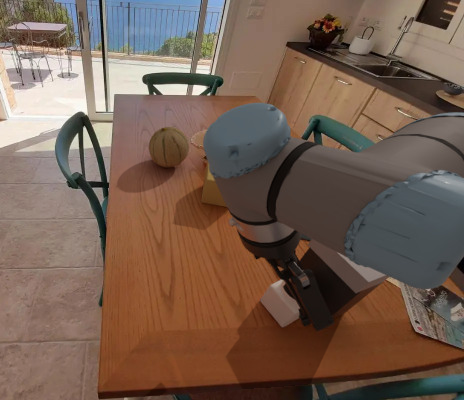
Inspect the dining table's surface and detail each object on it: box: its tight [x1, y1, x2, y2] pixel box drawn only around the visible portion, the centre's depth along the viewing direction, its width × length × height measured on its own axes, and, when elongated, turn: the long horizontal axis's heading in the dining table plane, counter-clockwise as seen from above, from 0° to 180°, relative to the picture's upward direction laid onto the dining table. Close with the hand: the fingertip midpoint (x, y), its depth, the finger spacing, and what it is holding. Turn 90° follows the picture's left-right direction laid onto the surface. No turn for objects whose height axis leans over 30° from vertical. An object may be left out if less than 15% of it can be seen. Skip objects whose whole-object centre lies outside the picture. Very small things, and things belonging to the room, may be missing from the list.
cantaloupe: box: [148, 126, 190, 168], centre depth 98 cm, size 15×15×15 cm
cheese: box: [200, 162, 227, 208], centre depth 87 cm, size 10×11×10 cm
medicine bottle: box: [259, 279, 319, 328], centre depth 58 cm, size 7×7×12 cm
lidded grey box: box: [299, 239, 390, 319], centre depth 59 cm, size 8×12×18 cm, turn 20°
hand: (283, 284), depth 48 cm, fingers open, 13 cm apart
